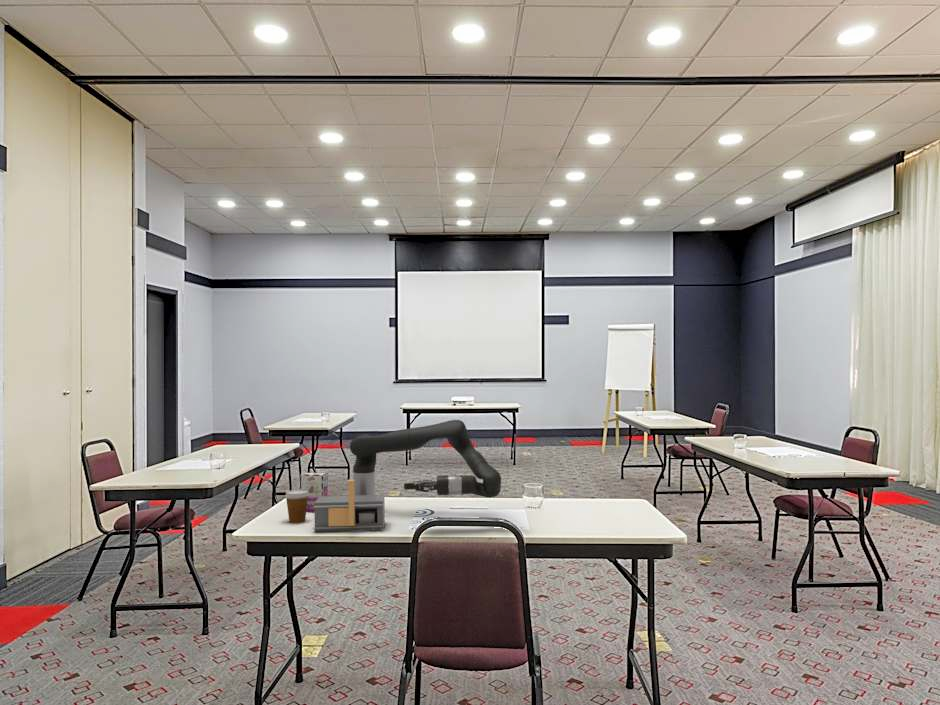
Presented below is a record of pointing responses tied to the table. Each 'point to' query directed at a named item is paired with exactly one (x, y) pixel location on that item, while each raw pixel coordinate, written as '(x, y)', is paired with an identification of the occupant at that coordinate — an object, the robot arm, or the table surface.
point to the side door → (344, 511)
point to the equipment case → (366, 512)
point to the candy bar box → (314, 487)
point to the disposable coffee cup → (297, 505)
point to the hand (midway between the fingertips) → (404, 486)
